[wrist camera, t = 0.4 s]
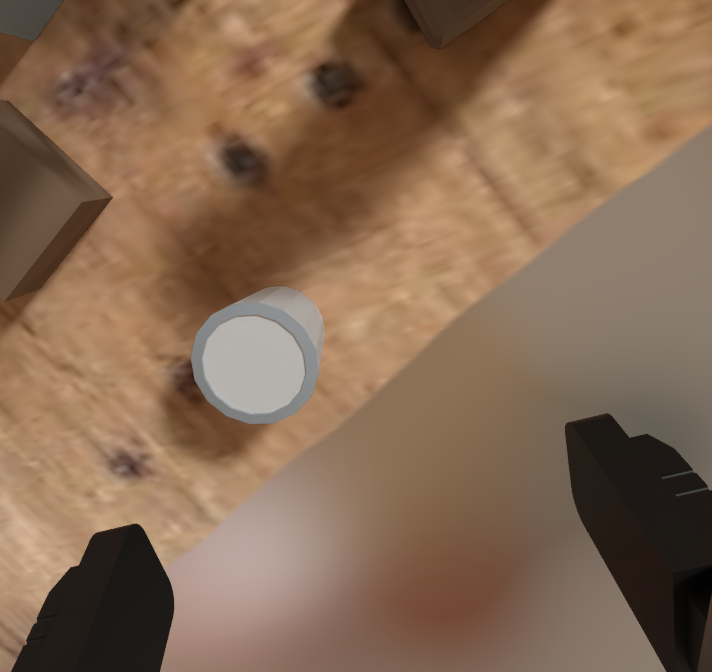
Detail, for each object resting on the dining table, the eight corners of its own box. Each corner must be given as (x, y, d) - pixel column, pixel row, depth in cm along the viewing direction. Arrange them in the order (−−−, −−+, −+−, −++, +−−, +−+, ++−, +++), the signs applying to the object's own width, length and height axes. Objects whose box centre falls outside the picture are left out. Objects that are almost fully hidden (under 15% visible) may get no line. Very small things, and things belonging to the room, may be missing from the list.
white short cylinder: (347, 366, 40) (334, 409, 33) (247, 390, 41) (215, 437, 34) (316, 263, 38) (295, 287, 32) (212, 291, 39) (171, 320, 33)
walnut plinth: (-58, 199, 40) (-109, 205, 36) (11, 101, 37) (-35, 95, 34) (42, 287, 41) (3, 302, 37) (115, 197, 38) (81, 202, 35)
